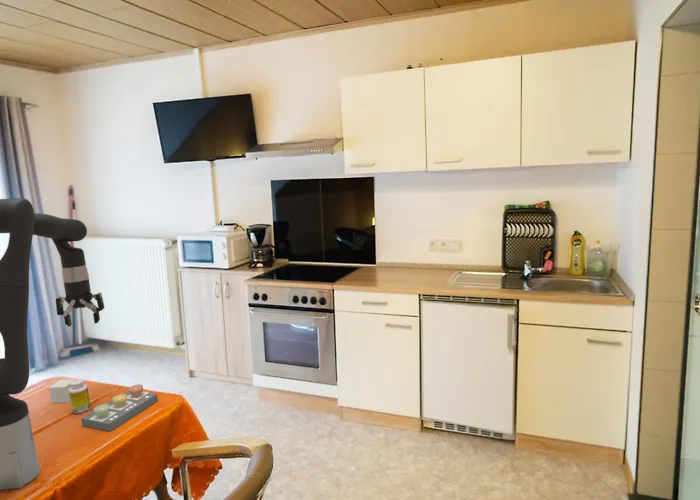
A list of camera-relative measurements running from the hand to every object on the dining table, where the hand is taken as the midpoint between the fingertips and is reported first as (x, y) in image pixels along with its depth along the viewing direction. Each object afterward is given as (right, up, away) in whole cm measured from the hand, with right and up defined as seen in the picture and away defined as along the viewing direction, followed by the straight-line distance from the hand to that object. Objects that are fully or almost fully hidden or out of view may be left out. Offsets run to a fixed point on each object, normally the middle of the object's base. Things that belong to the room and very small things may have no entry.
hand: (83, 324), depth 163 cm
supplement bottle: (+1, -29, -3) cm, 29 cm away
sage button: (+14, -26, -14) cm, 32 cm away
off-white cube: (-10, -28, +6) cm, 30 cm away
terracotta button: (+19, -23, -1) cm, 30 cm away
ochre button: (+16, -24, -7) cm, 30 cm away
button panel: (+17, -28, -7) cm, 34 cm away
